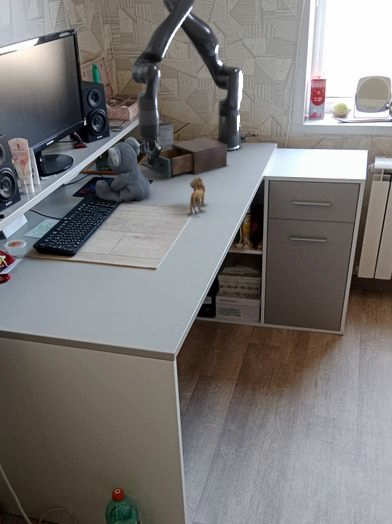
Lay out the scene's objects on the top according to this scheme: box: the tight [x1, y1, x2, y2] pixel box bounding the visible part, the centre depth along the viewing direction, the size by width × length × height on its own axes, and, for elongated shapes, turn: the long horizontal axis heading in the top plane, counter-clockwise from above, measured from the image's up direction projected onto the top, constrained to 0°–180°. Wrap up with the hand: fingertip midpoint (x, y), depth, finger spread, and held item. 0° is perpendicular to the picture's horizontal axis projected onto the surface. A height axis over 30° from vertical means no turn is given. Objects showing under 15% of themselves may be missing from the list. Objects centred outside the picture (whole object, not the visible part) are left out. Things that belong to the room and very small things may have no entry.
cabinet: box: [172, 136, 228, 175], centre depth 231 cm, size 17×15×9 cm
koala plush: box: [95, 136, 151, 203], centre depth 200 cm, size 17×18×20 cm
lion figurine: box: [189, 176, 206, 216], centre depth 191 cm, size 15×5×9 cm, turn 0°
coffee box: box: [157, 117, 174, 151], centre depth 236 cm, size 9×6×16 cm
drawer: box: [140, 148, 193, 179], centre depth 223 cm, size 21×14×7 cm, turn 128°
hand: (151, 168), depth 219 cm, fingers closed
